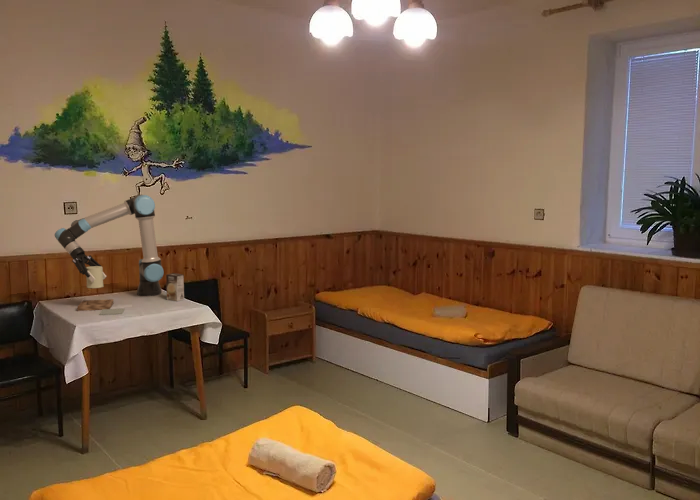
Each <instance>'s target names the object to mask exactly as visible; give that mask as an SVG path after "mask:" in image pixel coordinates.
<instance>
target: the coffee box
mask: <svg viewBox="0 0 700 500" xmlns="http://www.w3.org/2000/svg"><path fill="white" fill-rule="evenodd" d="M165 276H166V278H165V279H166V283H165V285H166V300H167V301H171V302H172V301H173V302H180V301H184V300H185V284H184V283H185V282H184V279H185V278H184V277H185V276H184V274H183V273H176V272H175V273H174V272H172V273H167V274H165ZM183 299H184V300H183Z"/></svg>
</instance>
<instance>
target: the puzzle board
mask: <svg viewBox="0 0 700 500" xmlns="http://www.w3.org/2000/svg"><path fill="white" fill-rule="evenodd" d="M114 303H115V302H114V299H113V298H111V299H88V300H82V301H81V302H80V303H79V304H78V305H77V312H82V311H83V312H84V311H85V312H86V311H102V309H112V306H113V305H114Z"/></svg>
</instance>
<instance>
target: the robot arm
mask: <svg viewBox="0 0 700 500" xmlns="http://www.w3.org/2000/svg"><path fill="white" fill-rule="evenodd" d="M155 209H156V204H155V201H154V199H153V198H152V197H151V196H149V195H147V194H138V195H135V196H132V197H131V198H129V199H127V200H124V202H123V203H120V204H118V205H115V206H112V207H110V208H107V209H105V210H101V211H98V212H96V213H94V214H90V215H88V216H85V217H83V218H80V219H76V220H73V222H71V224H70V227H68V228H64V227H61V228H60V229H59V228H58V230H57V231H55V233H54V238H55V239H56V240H57V242H58V243H59V244H60V245H61V247H63V249H64V250H65V251H66V252H67V253H68V254H69V256H70V257H71V258H72V260H71V263H73V264H74V265H75V266H76V269H77V270H78V272H79V273H80V274H81V275H83V276H84V275H85V277H86V276H87V277H88V278H89V279H90V281H91V282H94V280H95V278H94V277H93V275H92V274H91V273H90V272H89V271H87V269H86V267H87V266H88V267H91V266H102V265H101V264H100V263H99V262H98V261H97V260H96V259H94V258H93V257H92V255H90V254H89V255H87V254H85V252H86V251H85V250H84V249H83V247H81V245H80V244H79V243H78V241H76V240H77V239H78V238H80V237H81V236H82V235H84V234H86V233H88V231H90V230H91V229H93V228H95V227H96V228H97V227H98V226H100V225H104V224H107V223H108V222H109V223H110V222H111V221H115V220H117V219H119V218H123V217H125V216H127V215H130V216H132V215H134V218H135V219H136V220H137V221H138V228H139V234H140V242H141V249H142V256H143V258H141V259H139V260H138V271H139V272H138V273H139V274H138V276H139V282H138V283H139V284H138V286H137V292H136V294H137V295H138V296H140V297H141V296H142V297H143V296H144V297H147V296H149V297H150V296H158V295H161V294H162V291H163V290H162V286H161V284H160V282H159V281H160V280H161V279H163V277H164V274H165V273H164V268H163V265H162V259H161V258H160V257H159V256H158V255H159V254H158V247H157V240H156V234H155V233H156V232H155V225H154V218H155V217H156V214H155V213H156V212H155ZM86 265H87V266H86ZM106 278H107V274H105V272H103V281H104V280H105V279H106Z"/></svg>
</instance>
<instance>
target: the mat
mask: <svg viewBox="0 0 700 500" xmlns="http://www.w3.org/2000/svg"><path fill="white" fill-rule="evenodd" d="M125 310H126V309H125V308H124V307H123V308H110V309H102V310H100V312H99V313H98V316H105V315H106V316H107V315H109V316H111V315H113V316H114V315H123V313H124V311H125Z"/></svg>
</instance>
